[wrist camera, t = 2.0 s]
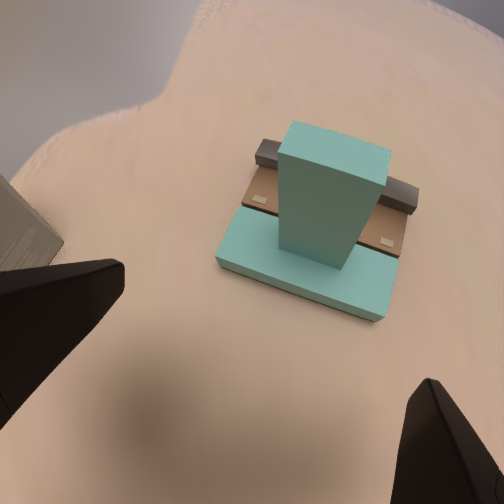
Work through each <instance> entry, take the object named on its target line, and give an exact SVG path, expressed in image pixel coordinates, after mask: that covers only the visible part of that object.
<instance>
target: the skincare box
mask: <svg viewBox="0 0 504 504" xmlns="http://www.w3.org/2000/svg"><path fill="white" fill-rule="evenodd" d="M63 243H64V242H63V240H62V239H61V238H60V237H59V236H58V235H57V234H56V233H55V231H54V230H53V229H52V228H51V227H50V226H49V225H48V224H47V222H46V221H45V220H44V219H43V218H42V217H41V216H40V215H39V214H38V213H37V212H36V211H35V210H34V209H33V208H32V207H31V206H30V205H29V204H28V203H27V202H26V201H25V200H24V198H23V197H22V196H21V195H20V194H19V193H18V192H17V191H16V190H15V189H14V188H13V187H12V186H11V185H10V184H9V183H8V182H7V181H6V180H5V178H4V177H3V176H2V175H1V174H0V271H9V270H17V269H25V268H33V267H42V266H47V265H48V264H49V263H50V261H51V260H52V259H53V257H54V256H55V255H56V253H57V252H58V250H59V249H60V248H61V246H62V245H63Z"/></svg>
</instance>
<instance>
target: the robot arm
mask: <svg viewBox="0 0 504 504" xmlns="http://www.w3.org/2000/svg"><path fill="white" fill-rule="evenodd" d="M124 287H125V267H124V264H123V263H122V262H120V261H117V260H115V259H102V260H93V261H85V262H76V263H67V264H59V265H50V266H42V267H33V268H25V269H17V270H9V271H0V430H1V429H2V428H3V427H4V425H5V424H6V423H7V422H8V421H9V420H10V418H11V417H12V415H14V413H15V412H16V411H17V410H18V409H19V408H20V407H21V405H22V404H23V403H24V402H25V401H26V400H27V399H28V398H29V396H30V395H31V394H32V393H33V392H34V391H35V390H36V389H37V388H38V387H39V385H40V384H41V383H42V382H43V381H44V380H45V379H46V378H47V377H48V376H49V375H50V373H51V372H52V371H53V370H54V369H55V368H56V367H57V366H58V365H59V364H60V363H61V362H62V361H63V360H64V359H65V358H66V356H67V355H68V354H69V353H70V352H71V351H72V350H73V349H74V348H75V347H76V346H77V345H78V344H79V343H80V342H81V341H82V340H83V339H84V338H85V337H86V336H87V335H88V334H89V333H90V332H91V331H92V330H93V329H94V327H95V326H96V325H97V324H98V323H99V322H100V320H101V319H102V318H103V317H104V315H105V314H106V313H107V312H108V310H109V309H110V308H111V307H112V306H113V304H114V303H115V302H116V301H117V299H118V298H119V297H120V296H121V295H122V293H123V291H124ZM390 504H504V475H503V473H502V472H501V470H499V467H498V466H497V464H496V462H495V461H494V459H493V458H492V456H491V455H490V453H489V452H488V450H487V449H486V447H485V445H484V444H483V442H482V441H481V439H480V438H479V437H478V435H477V434H476V432H475V431H474V429H473V428H472V426H471V425H470V423H469V422H468V420H467V419H466V418H465V416H464V415H463V413H462V412H461V411H460V409H459V408H458V406H457V405H456V404H455V402H454V401H453V399H452V398H451V397H450V395H449V394H448V393H447V391H446V390H445V388H444V387H443V386H442V384H441V383H440V382H439V381H438V380H434V379H430V378H426V379H424V380H423V381H422V382H421V384H420V385H419V386H418V388H417V389H416V390H415V392H414V393H413V394H412V395H411V397H410V398H409V400H408V403H407V407H406V413H405V419H404V424H403V429H402V434H401V439H400V444H399V449H398V455H397V463H396V470H395V477H394V484H393V490H392V496H391V501H390Z"/></svg>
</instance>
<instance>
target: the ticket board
mask: <svg viewBox="0 0 504 504" xmlns="http://www.w3.org/2000/svg"><path fill="white" fill-rule="evenodd" d="M281 144H282V142H278V141H274V140H268V139H263V141H262V142H261V144H260V146H259V148H258V150H257V152H256V154H255V159H256V164H257V165H260V166H259V168H258V170H257V172H256V174H255V176H254V177H253V179H252V181H251V183H250V185H249V187H248V189H247V191H246V193H245V195H244V197H243V199H242V201H241V203H242V206H244V207H247V208H250V209H253V210H256V211H259V212H263V213H266V214H269V215H272V216H275V217H278V150H279V148H280V146H281ZM418 194H419V188H417V187H414V186H412V185H410V184H408V183H405V182H403V181H400V180H398V179H395V178H392V177H390V176H387V180H386V185H385V188H384V190H383V192H382V194H381V196H380V198H379V200H378V202H377V204H376V206H375V208H374V210H373V212H372V214H371V216H370V218H369V220H368V221H367V223H366V225H365V227H364V229H363V231H362V233H361V235H360V237H359V239H358V240H357V242H356V244H357V245H360V246H363V247H366V248H369V249H371V250H374V251H377V252H380V253H382V254H385V255H388V256H390V257H393V258H396V259H398V258H399V257H400V254H401V249H402V244H403V238H404V233H405V227H406V221H407V215H408V214H409V215H412V214H413V212H414V211H415V209H416V208H417V202H418Z"/></svg>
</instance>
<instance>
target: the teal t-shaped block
mask: <svg viewBox="0 0 504 504" xmlns="http://www.w3.org/2000/svg"><path fill="white" fill-rule="evenodd" d="M391 151H392V150H389V149H386V148H383V147H380V146H378V145H375V144H372V143H369V142H366V141H363V140H360V139H357V138H354V137H351V136H347V135H344V134H341V133H338V132H334V131H331V130H327V129H324V128H320V127H317V126H313V125H309V124H306V123H302V122H298V121H294V120H293V121H292V123H291V125H290V127H289V130H288V132H287V134H286V136H285V138H284V140H283V142H282V144H281V146H280V148H279V150H278V217H275V216H272V215H269V214H266V213H263V212H259V211H256V210H253V209H250V208H247V207H244V206H239V208H238V210H237V212H236V214H235V216H234V218H233V220H232V222H231V224H230V226H229V228H228V230H227V232H226V234H225V236H224V238H223V240H222V242H221V244H220V247H219V249H218V251H217V253H216V255H215V257H216V259H217V261H218V263H219V265H220V266H221V267H224V268H226V269H229V270H232V271H234V272H237V273H240V274H242V275H245V276H248V277H251V278H253V279H256V280H259V281H261V282H264V283H267V284H270V285H272V286H275V287H278V288H280V289H283V290H286V291H289V292H292V293H294V294H297V295H300V296H303V297H305V298H308V299H311V300H314V301H317V302H319V303H322V304H325V305H328V306H331V307H334V308H336V309H339V310H342V311H345V312H348V313H351V314H354V315H357V316H359V317H362V318H365V319H368V320H371V321H374V322H377V321H379V320H381V319H383V318H384V317H385V316H386V312H387V309H388V305H389V301H390V297H391V293H392V289H393V285H394V281H395V277H396V272H397V268H398V263H399V259H396V258H393V257H390V256H388V255H385V254H382V253H380V252H377V251H374V250H371V249H369V248H366V247H363V246H360V245H357V244H356V242H357V240H358V239H359V237H360V235H361V233H362V231H363V229H364V227H365V225H366V223H367V221H368V220H369V218H370V216H371V214H372V212H373V210H374V208H375V206H376V204H377V202H378V200H379V198H380V196H381V194H382V192H383V190H384V188H385V185H386V180H387V174H388V169H389V163H390V157H391Z"/></svg>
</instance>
